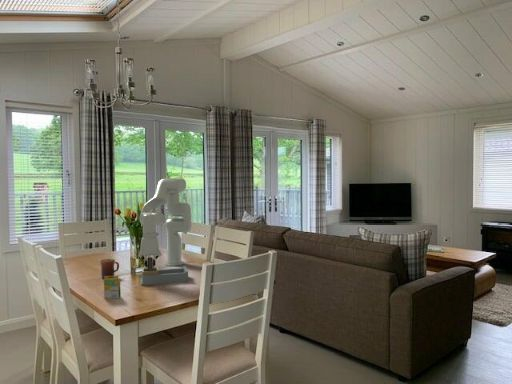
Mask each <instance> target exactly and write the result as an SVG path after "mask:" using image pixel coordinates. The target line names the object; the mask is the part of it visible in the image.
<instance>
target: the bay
mask: <svg viewBox="0 0 512 384" xmlns="http://www.w3.org/2000/svg"><path fill="white" fill-rule="evenodd" d="M158 270H159V274H157V275H143V276H142V275H141V278H140V280H141V281H140V282H141V283H140V284H141V286H150V285H151V286H153V285H154V286H155V285H164V284H165V285H167V284H176V283H177V284H179V283H189V270H188V268H187V266H182V267H177V268H176V267H175V268H164V269H161V268H160V269H158Z"/></svg>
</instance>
